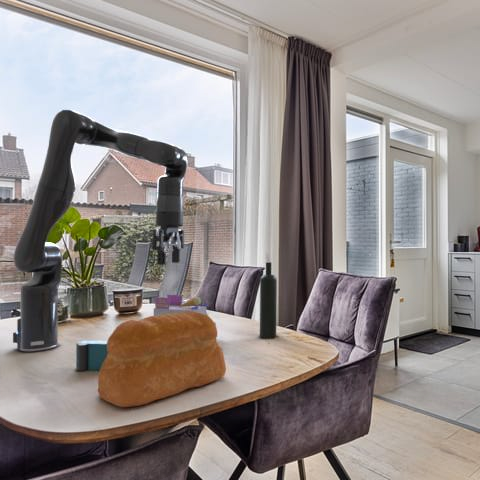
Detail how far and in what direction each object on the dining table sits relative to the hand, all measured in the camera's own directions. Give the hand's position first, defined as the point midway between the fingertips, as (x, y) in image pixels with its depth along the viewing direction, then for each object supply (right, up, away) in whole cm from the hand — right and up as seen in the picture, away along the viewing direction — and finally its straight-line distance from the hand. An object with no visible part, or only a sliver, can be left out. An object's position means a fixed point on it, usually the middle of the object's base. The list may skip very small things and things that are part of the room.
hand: (168, 263), depth 125 cm
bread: (+12, -28, -27) cm, 41 cm away
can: (-7, -27, +25) cm, 37 cm away
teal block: (-11, -27, -14) cm, 33 cm away
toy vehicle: (-2, -27, +15) cm, 31 cm away
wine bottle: (+26, -28, +21) cm, 43 cm away
